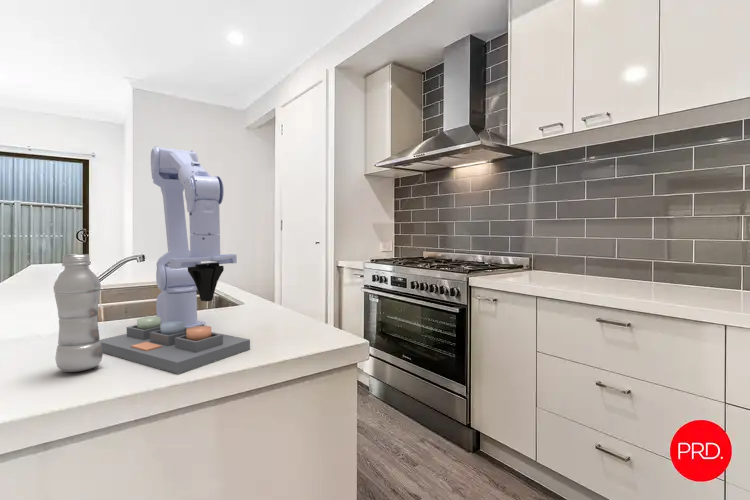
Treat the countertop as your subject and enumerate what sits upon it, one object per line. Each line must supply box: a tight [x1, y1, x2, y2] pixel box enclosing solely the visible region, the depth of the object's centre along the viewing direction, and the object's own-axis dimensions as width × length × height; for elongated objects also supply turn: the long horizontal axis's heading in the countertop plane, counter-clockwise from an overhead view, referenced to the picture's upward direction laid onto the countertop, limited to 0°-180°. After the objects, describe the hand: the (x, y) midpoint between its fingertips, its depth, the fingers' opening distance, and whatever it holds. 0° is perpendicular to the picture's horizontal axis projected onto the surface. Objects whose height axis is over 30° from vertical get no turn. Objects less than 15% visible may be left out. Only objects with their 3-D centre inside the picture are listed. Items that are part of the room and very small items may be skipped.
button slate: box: [160, 321, 185, 335], centre depth 81 cm, size 4×4×2 cm
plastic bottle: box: [53, 253, 104, 373], centre depth 69 cm, size 6×7×20 cm
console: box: [99, 323, 251, 375], centre depth 81 cm, size 26×16×4 cm, turn 61°
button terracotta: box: [186, 325, 213, 341], centre depth 77 cm, size 4×4×2 cm
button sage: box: [136, 316, 161, 330], centre depth 85 cm, size 4×4×2 cm
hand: (206, 300), depth 84 cm, fingers closed
